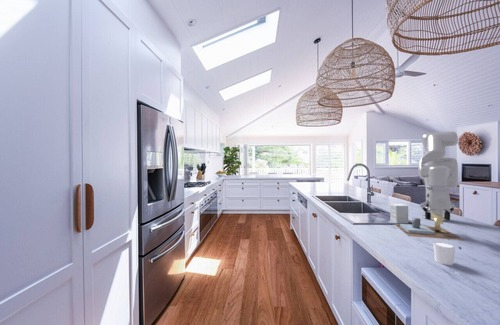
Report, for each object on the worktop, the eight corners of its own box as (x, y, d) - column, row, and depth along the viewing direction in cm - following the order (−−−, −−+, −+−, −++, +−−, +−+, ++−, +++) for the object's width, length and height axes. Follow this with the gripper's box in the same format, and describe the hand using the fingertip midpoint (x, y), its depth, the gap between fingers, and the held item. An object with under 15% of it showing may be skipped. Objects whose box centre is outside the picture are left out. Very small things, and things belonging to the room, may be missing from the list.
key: (440, 234, 115) (440, 217, 115) (431, 228, 125) (431, 212, 125) (446, 235, 114) (446, 217, 114) (436, 229, 124) (436, 213, 124)
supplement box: (401, 222, 144) (401, 203, 144) (408, 225, 137) (408, 205, 137) (389, 222, 145) (389, 203, 145) (396, 225, 138) (396, 205, 138)
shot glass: (431, 261, 89) (431, 244, 89) (433, 256, 94) (433, 240, 94) (454, 267, 84) (455, 249, 84) (455, 261, 89) (455, 244, 89)
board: (394, 226, 136) (394, 223, 136) (440, 229, 129) (440, 226, 129) (408, 238, 115) (408, 235, 115) (465, 243, 108) (465, 240, 108)
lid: (400, 226, 131) (400, 215, 131) (423, 227, 128) (423, 216, 128) (408, 232, 120) (408, 220, 120) (434, 234, 117) (434, 222, 116)
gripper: (425, 189, 118) (425, 221, 118) (460, 189, 116) (460, 221, 116) (416, 187, 126) (416, 217, 126) (449, 187, 124) (449, 218, 124)
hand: (437, 219), depth 121 cm, fingers open, 9 cm apart
